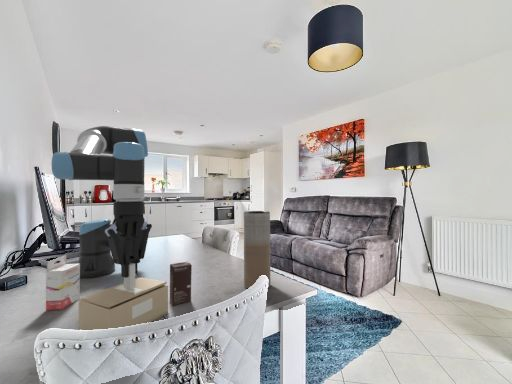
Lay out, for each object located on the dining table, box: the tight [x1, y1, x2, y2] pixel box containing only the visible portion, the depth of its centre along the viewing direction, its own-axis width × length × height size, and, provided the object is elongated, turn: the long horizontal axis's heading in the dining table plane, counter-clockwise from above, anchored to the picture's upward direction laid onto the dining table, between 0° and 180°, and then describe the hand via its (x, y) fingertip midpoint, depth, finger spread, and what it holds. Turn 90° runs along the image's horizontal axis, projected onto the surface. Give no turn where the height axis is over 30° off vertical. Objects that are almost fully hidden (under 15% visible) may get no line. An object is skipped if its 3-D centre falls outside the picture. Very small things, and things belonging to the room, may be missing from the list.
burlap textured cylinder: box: [243, 210, 271, 289], centre depth 92 cm, size 10×10×28 cm
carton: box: [78, 284, 169, 330], centre depth 66 cm, size 13×17×8 cm
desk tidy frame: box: [38, 251, 80, 267], centre depth 127 cm, size 20×20×2 cm
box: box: [169, 261, 192, 306], centre depth 79 cm, size 6×4×12 cm
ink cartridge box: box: [45, 255, 81, 311], centre depth 78 cm, size 9×5×15 cm, turn 5°
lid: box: [80, 277, 168, 308], centre depth 66 cm, size 11×17×1 cm
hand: (129, 287), depth 66 cm, fingers closed
